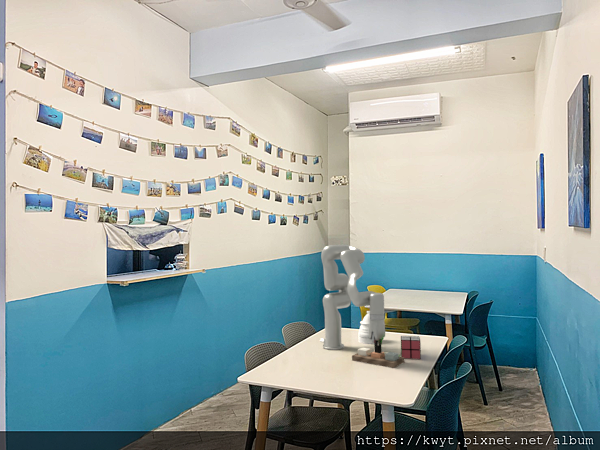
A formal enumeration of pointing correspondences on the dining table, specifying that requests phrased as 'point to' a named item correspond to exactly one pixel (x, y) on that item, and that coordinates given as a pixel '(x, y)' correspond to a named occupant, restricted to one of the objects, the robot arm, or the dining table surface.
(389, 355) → the button sage
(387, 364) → the key panel
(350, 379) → the dining table surface
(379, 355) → the button terracotta
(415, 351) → the puzzle cube
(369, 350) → the button cream
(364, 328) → the honey pot
